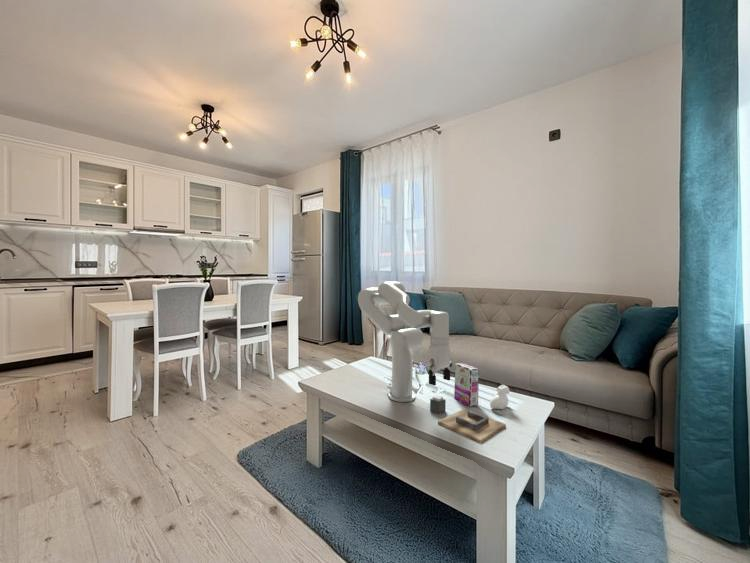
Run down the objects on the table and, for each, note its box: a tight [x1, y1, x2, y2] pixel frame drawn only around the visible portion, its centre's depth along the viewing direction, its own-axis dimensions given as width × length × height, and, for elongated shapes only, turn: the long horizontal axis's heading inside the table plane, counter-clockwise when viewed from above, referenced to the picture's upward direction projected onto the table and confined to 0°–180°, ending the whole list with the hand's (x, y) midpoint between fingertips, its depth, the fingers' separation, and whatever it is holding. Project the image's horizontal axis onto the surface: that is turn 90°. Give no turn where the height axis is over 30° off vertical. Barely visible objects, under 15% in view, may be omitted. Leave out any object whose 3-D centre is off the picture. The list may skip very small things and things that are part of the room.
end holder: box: [437, 408, 507, 444], centre depth 119 cm, size 18×18×3 cm
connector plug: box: [429, 394, 447, 415], centre depth 131 cm, size 4×4×6 cm
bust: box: [489, 384, 510, 410], centre depth 135 cm, size 12×8×11 cm
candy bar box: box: [453, 362, 480, 408], centre depth 142 cm, size 11×5×16 cm, turn 23°
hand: (439, 382), depth 131 cm, fingers open, 9 cm apart
